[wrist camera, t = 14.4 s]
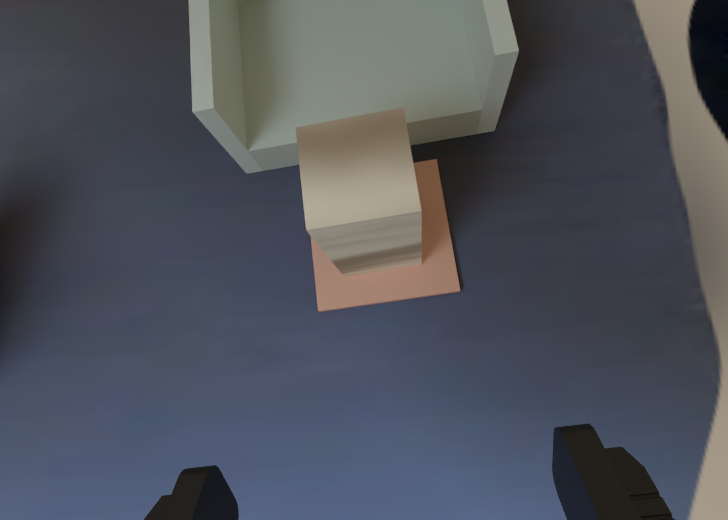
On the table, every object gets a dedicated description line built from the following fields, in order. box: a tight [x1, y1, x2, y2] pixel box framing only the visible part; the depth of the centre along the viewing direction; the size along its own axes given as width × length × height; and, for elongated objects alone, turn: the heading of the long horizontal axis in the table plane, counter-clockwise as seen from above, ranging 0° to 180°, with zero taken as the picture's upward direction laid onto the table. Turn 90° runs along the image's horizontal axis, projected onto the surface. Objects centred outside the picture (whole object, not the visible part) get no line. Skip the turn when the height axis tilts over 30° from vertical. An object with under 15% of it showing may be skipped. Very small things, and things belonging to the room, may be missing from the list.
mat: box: [311, 159, 460, 312], centre depth 30 cm, size 9×9×1 cm
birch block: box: [296, 107, 422, 277], centre depth 25 cm, size 5×5×10 cm
